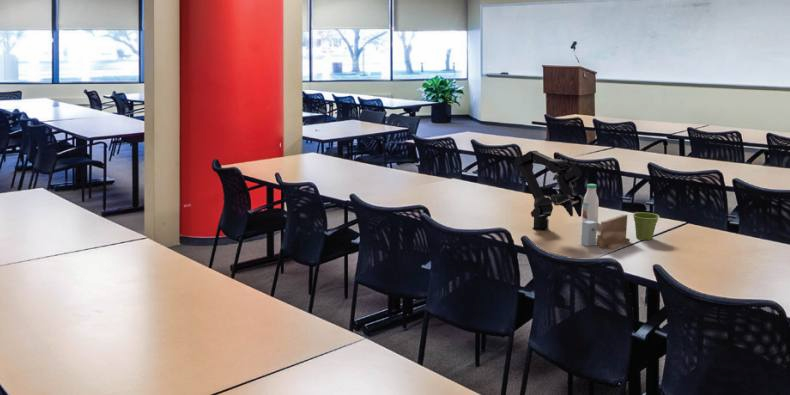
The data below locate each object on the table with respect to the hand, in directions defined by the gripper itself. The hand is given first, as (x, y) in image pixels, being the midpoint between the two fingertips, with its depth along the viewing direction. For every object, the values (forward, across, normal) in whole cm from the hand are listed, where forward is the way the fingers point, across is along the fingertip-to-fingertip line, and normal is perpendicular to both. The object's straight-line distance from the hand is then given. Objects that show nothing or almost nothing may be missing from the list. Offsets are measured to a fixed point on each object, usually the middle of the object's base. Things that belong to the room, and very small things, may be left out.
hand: (576, 216), depth 337 cm
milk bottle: (0, -36, -9) cm, 37 cm away
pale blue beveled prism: (+14, +1, +2) cm, 14 cm away
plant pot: (+18, -24, +19) cm, 35 cm away
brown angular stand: (+16, -6, +8) cm, 19 cm away
